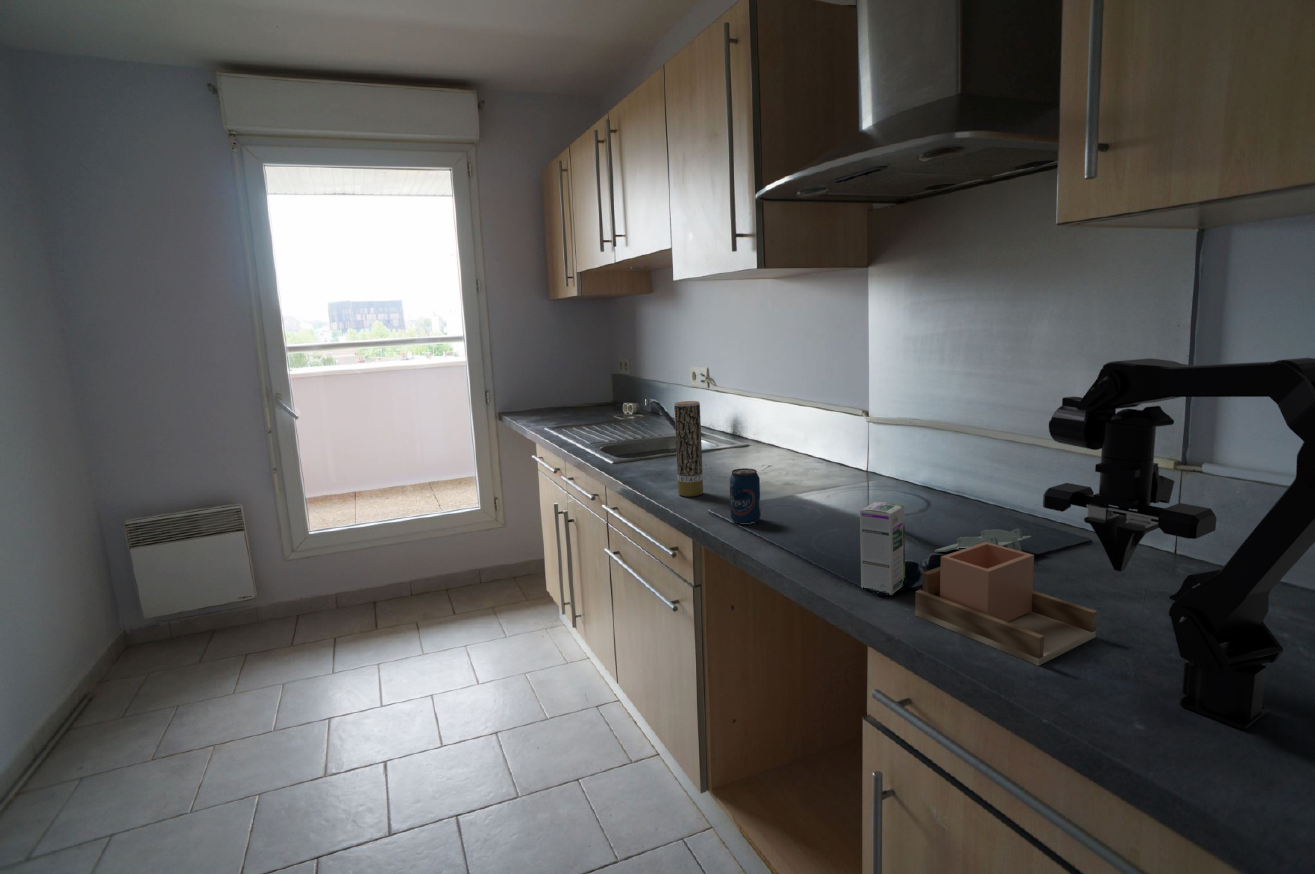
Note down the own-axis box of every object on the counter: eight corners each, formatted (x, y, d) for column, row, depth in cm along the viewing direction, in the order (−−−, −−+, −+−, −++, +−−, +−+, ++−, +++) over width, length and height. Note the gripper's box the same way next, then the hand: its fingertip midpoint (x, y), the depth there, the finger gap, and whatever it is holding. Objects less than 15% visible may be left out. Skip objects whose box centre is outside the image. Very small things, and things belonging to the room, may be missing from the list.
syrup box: (892, 596, 120) (893, 513, 117) (859, 588, 123) (859, 508, 121) (905, 585, 124) (906, 504, 121) (873, 578, 128) (873, 500, 125)
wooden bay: (1095, 637, 102) (1098, 591, 101) (1038, 665, 95) (1040, 616, 94) (971, 593, 119) (972, 554, 118) (915, 615, 112) (915, 573, 111)
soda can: (729, 525, 163) (727, 474, 161) (732, 516, 170) (731, 467, 168) (759, 525, 162) (758, 474, 159) (761, 517, 168) (760, 467, 166)
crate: (1031, 611, 108) (1034, 555, 107) (986, 630, 103) (988, 571, 101) (984, 594, 115) (985, 541, 114) (939, 612, 110) (940, 556, 108)
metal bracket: (1040, 524, 136) (990, 539, 129) (1047, 554, 135) (997, 571, 128) (976, 527, 148) (927, 542, 141) (982, 555, 148) (933, 571, 141)
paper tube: (679, 491, 196) (675, 401, 192) (703, 490, 195) (700, 400, 191) (677, 497, 189) (673, 404, 185) (702, 497, 189) (699, 404, 184)
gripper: (1241, 458, 88) (1230, 576, 91) (1087, 438, 104) (1081, 540, 107) (1199, 472, 83) (1188, 598, 86) (1043, 449, 99) (1038, 556, 101)
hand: (1119, 570), depth 95 cm, fingers closed
